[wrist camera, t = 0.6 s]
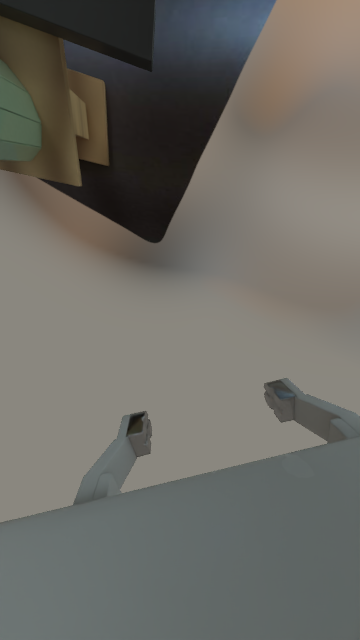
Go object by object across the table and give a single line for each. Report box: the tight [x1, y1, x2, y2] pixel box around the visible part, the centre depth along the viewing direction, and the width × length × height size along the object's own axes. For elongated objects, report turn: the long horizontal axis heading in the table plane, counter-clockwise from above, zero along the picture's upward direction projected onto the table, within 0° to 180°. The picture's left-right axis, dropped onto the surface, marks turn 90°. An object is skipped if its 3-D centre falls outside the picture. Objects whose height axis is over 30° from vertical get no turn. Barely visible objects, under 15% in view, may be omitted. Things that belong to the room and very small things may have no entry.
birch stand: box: [0, 16, 109, 186], centre depth 26 cm, size 14×16×26 cm
